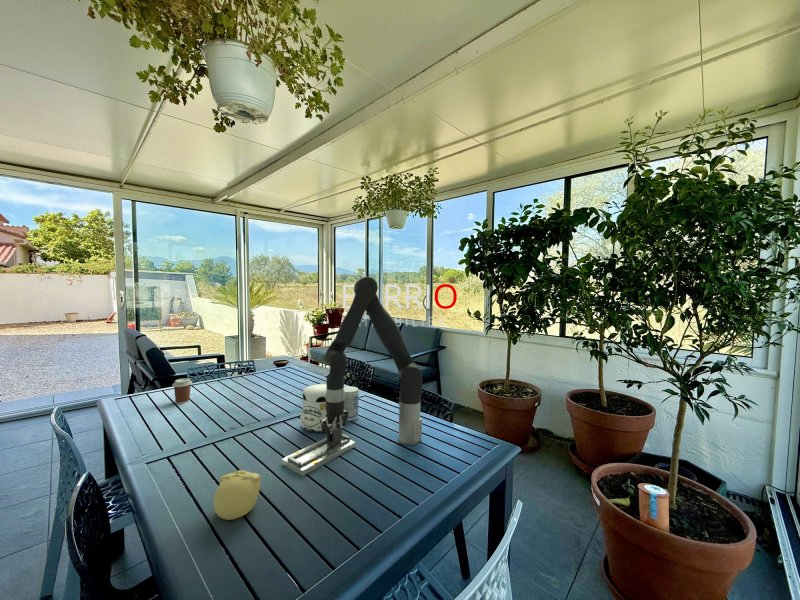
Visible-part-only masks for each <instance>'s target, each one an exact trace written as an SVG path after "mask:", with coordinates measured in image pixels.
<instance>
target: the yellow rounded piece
mask: <svg viewBox="0 0 800 600" xmlns="http://www.w3.org/2000/svg"><path fill="white" fill-rule="evenodd" d="M261 478H262V476H261V474H259V473H256V472H249V471H247V470H245V469H239V470H237V471H235V472H232V473H228V474H225V475H222V476H221V477H220V483H219V485H218V486H217V488H216V490H215V493H214V495H213V496H214V497H213V502H212V503H213V509H214V512H215V514H216V515H217V516H218V517H219V518H221V519H223V520H228V521H231V520H237V519H239V518H242V517H243V516H245V515H247V514H248V513H249V512H250V511H251V510H252V509H253V508H254V506H255V505H256V503H257V500H258V497H259V494H260V489H261Z"/></svg>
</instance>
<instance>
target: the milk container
mask: <svg viewBox="0 0 800 600" xmlns="http://www.w3.org/2000/svg"><path fill="white" fill-rule="evenodd" d="M326 387H327V383H326V384H324V383H319V384H312V385H308V386H306V387H304V389H303V391H302V410H301V413H300V424H301V427H302V428H303V429H304V430H305V431H307V432H311V433H317V432H318V433H321V432H322V433H323V431H322V427H321V424H320V420H321V419H322V420H323V419H324V418H326V414H327V412H326V409H325V407H326ZM330 425H332V424H330ZM335 426H336V424H335Z"/></svg>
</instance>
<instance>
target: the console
mask: <svg viewBox="0 0 800 600" xmlns="http://www.w3.org/2000/svg"><path fill="white" fill-rule="evenodd" d="M355 447H356V441H354V440H351V437H350V436H348V435H346V434H343V433H342V435H341V442H340V443H338V444H336V445H334V446H332V445H330V444H328V443H327V437H325V438H323V439H321V440H319V441H317V442H315V443H313V444H310V445H308V446H306V447H304V448H302V449H299V450H298V451H295V452H294V453H291V454H290V455H287V456H285V457H284V458H281V465H283V466H285V467H286V468H288V469H289V470H292V471H293V472H295V473H296V474H298V475H300V476H301V477H303V476H306V475H308V474H309V473H310V472H312V471H314V470H316V469H318V468H320V467H321V466H323V465H326V464H327V463H328V462H331V461H333V460H335V459H336V458H338V457H339V456H342V455H344V453H347V452H348V451H350V450H352V449H354V448H355Z"/></svg>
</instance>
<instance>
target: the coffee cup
mask: <svg viewBox="0 0 800 600" xmlns="http://www.w3.org/2000/svg"><path fill="white" fill-rule="evenodd" d="M192 384H193V381H191V379H190V378H179V379H176V380H174V383H172V387H173V389H174V391H173V392H174V398H175V399H174V401H175V404H179V405H180V404H185V403H188V402H190V396H191V385H192Z"/></svg>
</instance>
